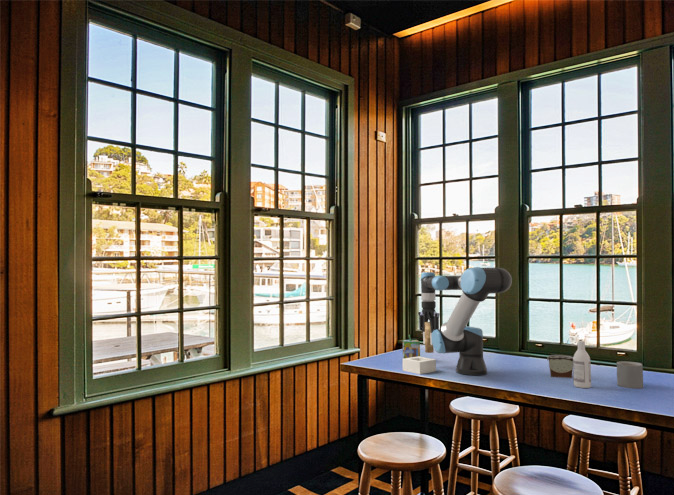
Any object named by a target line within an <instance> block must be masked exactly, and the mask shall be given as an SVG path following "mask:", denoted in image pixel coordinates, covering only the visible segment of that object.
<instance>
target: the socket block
mask: <svg viewBox="0 0 674 495" xmlns="http://www.w3.org/2000/svg"><path fill="white" fill-rule="evenodd" d="M402 371H403V372H408V373H413V374H416V375H423V374H428V373H434V372H437V360H436V358H429V357H423V356H420V357H419V356H418V357H411V358H404V359H403V358H402Z"/></svg>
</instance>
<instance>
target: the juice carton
mask: <svg viewBox="0 0 674 495" xmlns="http://www.w3.org/2000/svg"><path fill="white" fill-rule="evenodd" d="M401 341H402V360H403V359H404V358H411V357H418V356H419V357H421V346H420V345H421V343H420V341H419V340H418V339H412V338H411V335H410V334H408V339H402V340H401Z"/></svg>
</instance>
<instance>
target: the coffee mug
mask: <svg viewBox="0 0 674 495" xmlns="http://www.w3.org/2000/svg"><path fill="white" fill-rule="evenodd" d="M643 370H644V368H643V364H642V363H641V362H635V361H625V360H624V361H623V360H621V361H616V382H617V383H616V384H617V386H618V387H621V388H625V389H632V390H633V389H636V390H639V389H644V373H643V372H644V371H643Z"/></svg>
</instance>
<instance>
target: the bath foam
mask: <svg viewBox="0 0 674 495" xmlns="http://www.w3.org/2000/svg"><path fill="white" fill-rule="evenodd" d="M572 357H573V372H572V379H573V386H574V387H576V388H578V389H590V388H592V369H591V368H592V367H591V366H592V365H591V357H590V355H589V353H588V352H587V351H586V342H585V341H584V340H578V341H577V350H576V351H575V352H574V354H573V356H572Z"/></svg>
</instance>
